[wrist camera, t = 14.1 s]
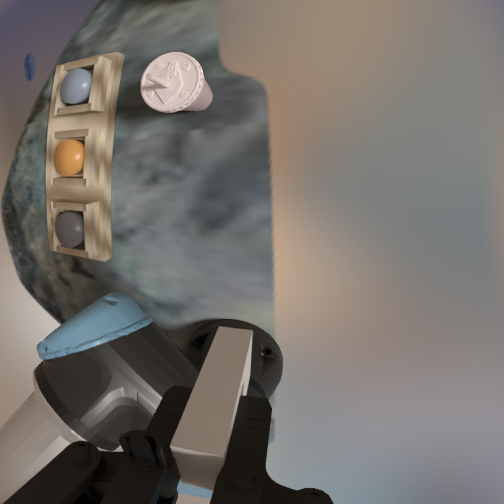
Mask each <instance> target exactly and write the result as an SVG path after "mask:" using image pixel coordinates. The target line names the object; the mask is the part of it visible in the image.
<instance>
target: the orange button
mask: <svg viewBox="0 0 504 504" xmlns="http://www.w3.org/2000/svg"><path fill="white" fill-rule="evenodd" d="M84 148H85V142H84V141H83V140H80V139H73V140H64V141H62V142H60V143H59V145H58V146H57V148H56V150H55V153H54V166H55V169H56V171H57V172H58V173H59V174H60V175H61V176H64V177H67V176H73V175H78V174H81V173H83V170H84Z"/></svg>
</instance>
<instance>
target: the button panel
mask: <svg viewBox="0 0 504 504" xmlns="http://www.w3.org/2000/svg"><path fill="white" fill-rule="evenodd" d="M123 61H124V55H123V54H121V53H119V52H114V53H108V54H103V55H98V56H94V57H89V58H85V59H81V60H77V61H73V62H69V63H65V64H62V65H58V66H57V67H56V73H55V78H54V84H53V90H52V97H51V105H50V113H49V123H48V135H47V152H46V207H47V224H48V237H49V247H50V251H55V252H60V253H65V254H69V255H74V256H79V257H84V258H89V259H94V260H99V261H104V262H106V261H107V260H109V259H110V258H112V245H111V169H112V150H113V137H114V126H115V116H116V107H117V99H118V92H119V85H120V78H121V72H122V66H123ZM75 68H81V69H84V70H87V71H90V72H93V77H92V83H91V90H90V97H89V101H88V102H87V103H85V104H82V105H77V104H70V103H65V102H64V101H63V100H62V99H61V96H60V87H61V83H62V81H63V79H64V77H65V76H66V75H67V74H68V73H69V72H70V71H71V70H73V69H75ZM73 139H80V140H83V141H84V142H85V148H84V170H83V173H81V174H78V175H73V176H67V177H64V176H61V175H60V174H59V173H58V172H57V171H56V169H55V166H54V153H55V150H56V148H57V146H58V145H59V143H60V142H62V141H64V140H73ZM71 210H74V211H82V212H83V214H84V236H85V242H83V243H81V244H79V245H77V246H75V247H73V248H67V247H65V246H63V245H62V244H61V243H60V242H59V240H58V238H57V236H56V232H55V222H56V219H57V217H58V216H59V215H60V214H62V213H65V212H68V211H71Z"/></svg>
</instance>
